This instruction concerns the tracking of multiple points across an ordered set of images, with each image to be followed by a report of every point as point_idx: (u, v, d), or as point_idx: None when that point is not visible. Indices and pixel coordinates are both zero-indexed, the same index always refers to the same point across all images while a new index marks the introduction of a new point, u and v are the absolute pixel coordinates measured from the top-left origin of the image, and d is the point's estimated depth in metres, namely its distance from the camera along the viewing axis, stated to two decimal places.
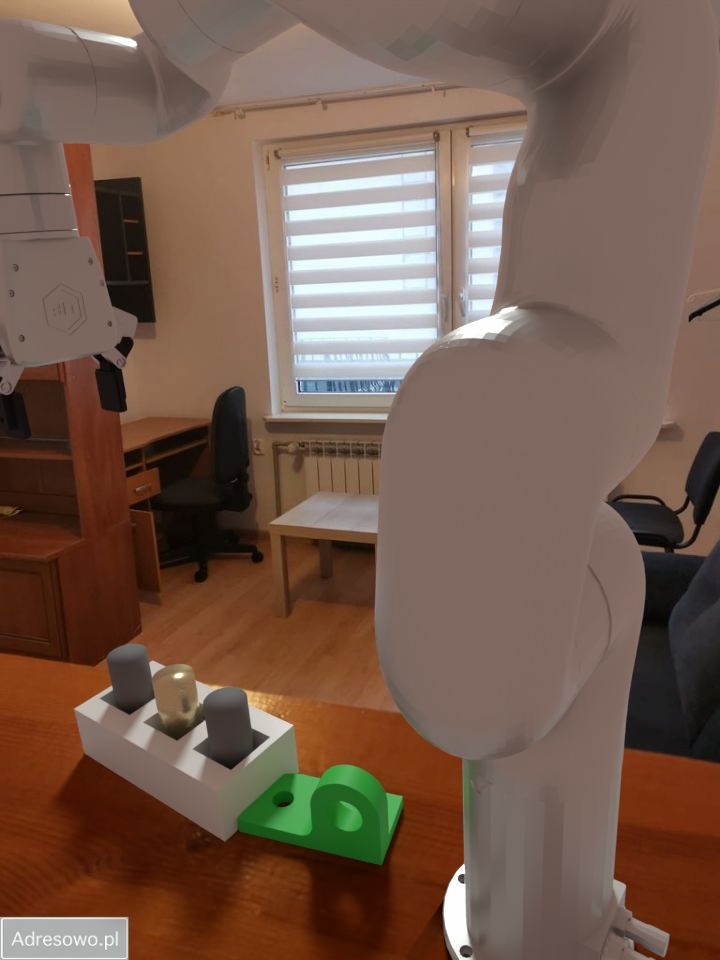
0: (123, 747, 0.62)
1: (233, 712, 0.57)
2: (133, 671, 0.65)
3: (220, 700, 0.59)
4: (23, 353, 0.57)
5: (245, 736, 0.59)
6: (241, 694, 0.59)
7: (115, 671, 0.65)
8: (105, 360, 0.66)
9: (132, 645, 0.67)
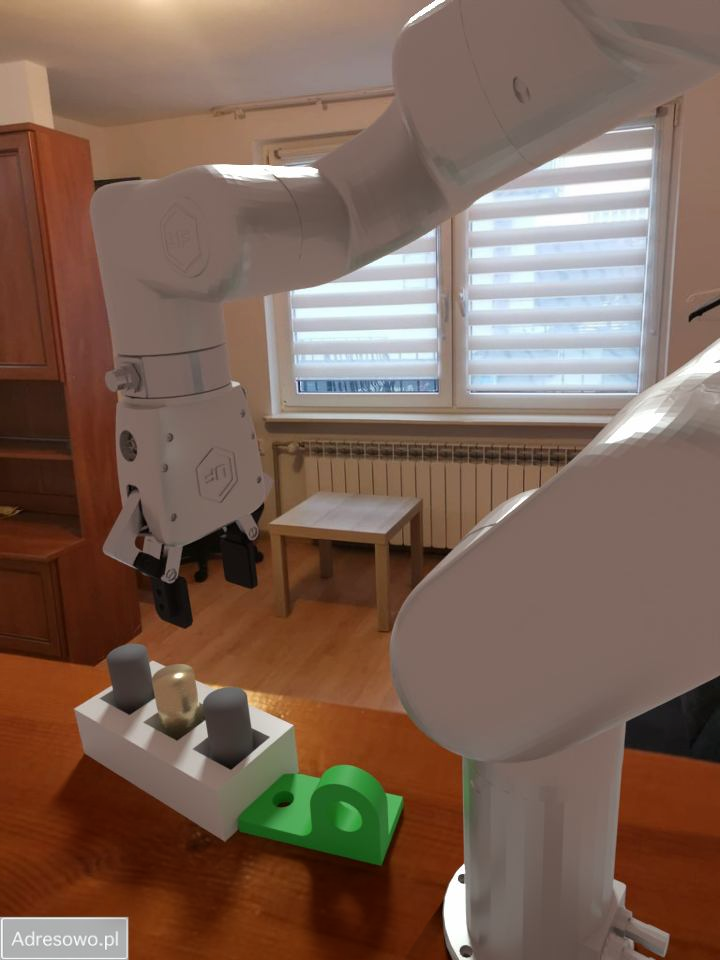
0: (123, 747, 0.62)
1: (233, 712, 0.57)
2: (133, 671, 0.65)
3: (220, 700, 0.59)
4: (174, 534, 0.48)
5: (245, 736, 0.59)
6: (241, 694, 0.59)
7: (115, 671, 0.65)
8: (234, 527, 0.57)
9: (132, 645, 0.67)
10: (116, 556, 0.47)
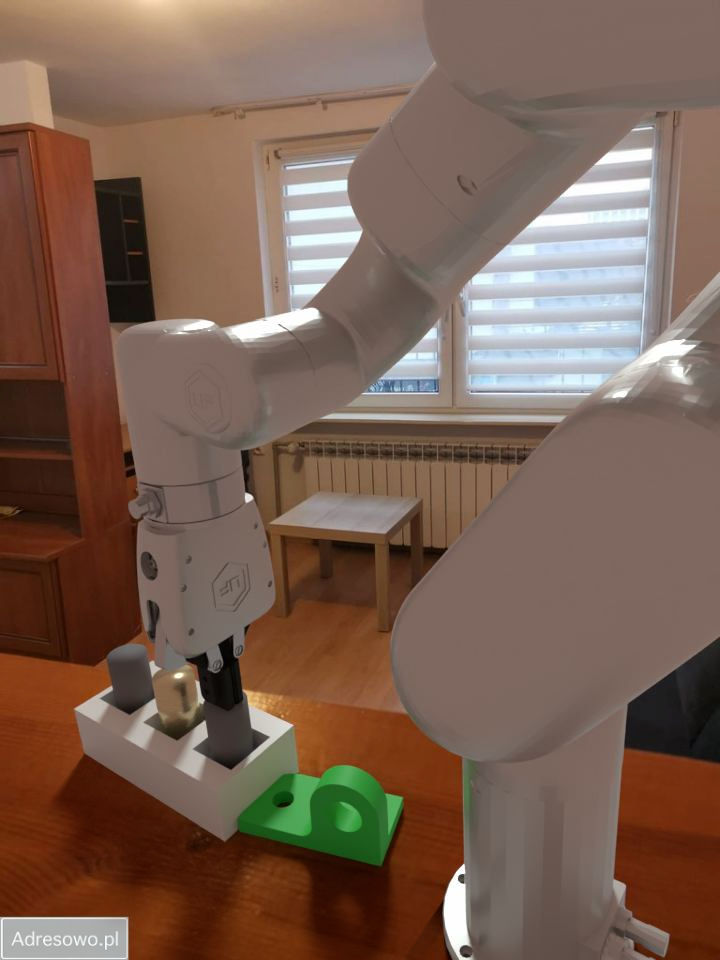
0: (123, 747, 0.62)
1: (233, 713, 0.57)
2: (133, 671, 0.65)
3: None
4: (192, 647, 0.51)
5: (246, 737, 0.59)
6: None
7: (115, 671, 0.65)
8: None
9: (132, 645, 0.67)
10: (169, 670, 0.53)
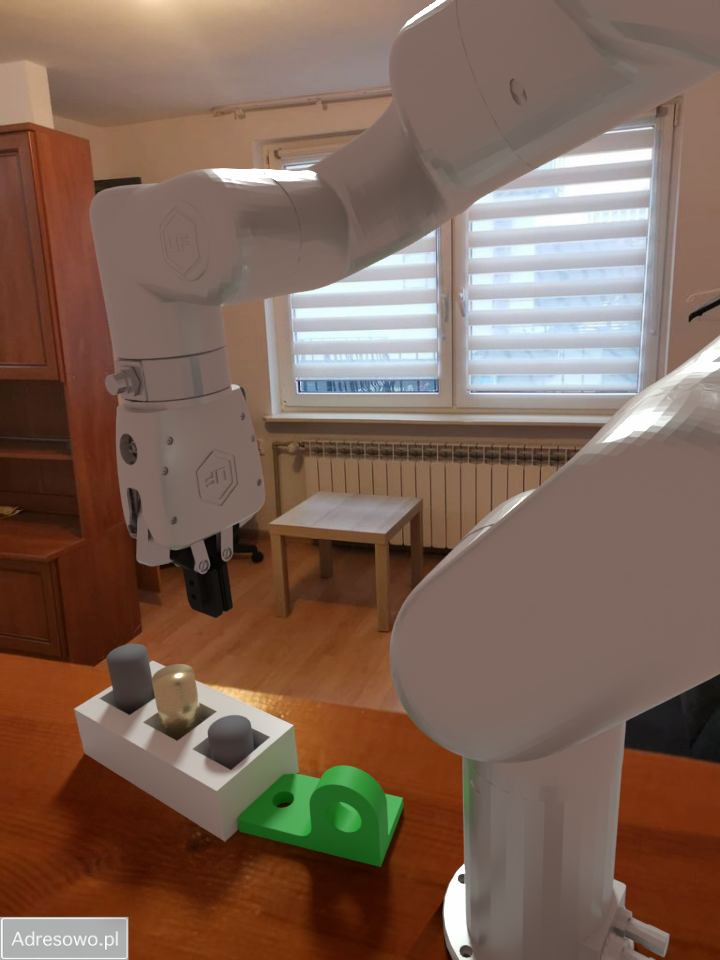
0: (123, 747, 0.62)
1: (237, 741, 0.58)
2: (133, 671, 0.65)
3: (225, 729, 0.60)
4: (175, 537, 0.48)
5: None
6: (245, 722, 0.60)
7: (115, 671, 0.65)
8: (210, 543, 0.55)
9: (132, 645, 0.67)
10: (152, 565, 0.50)
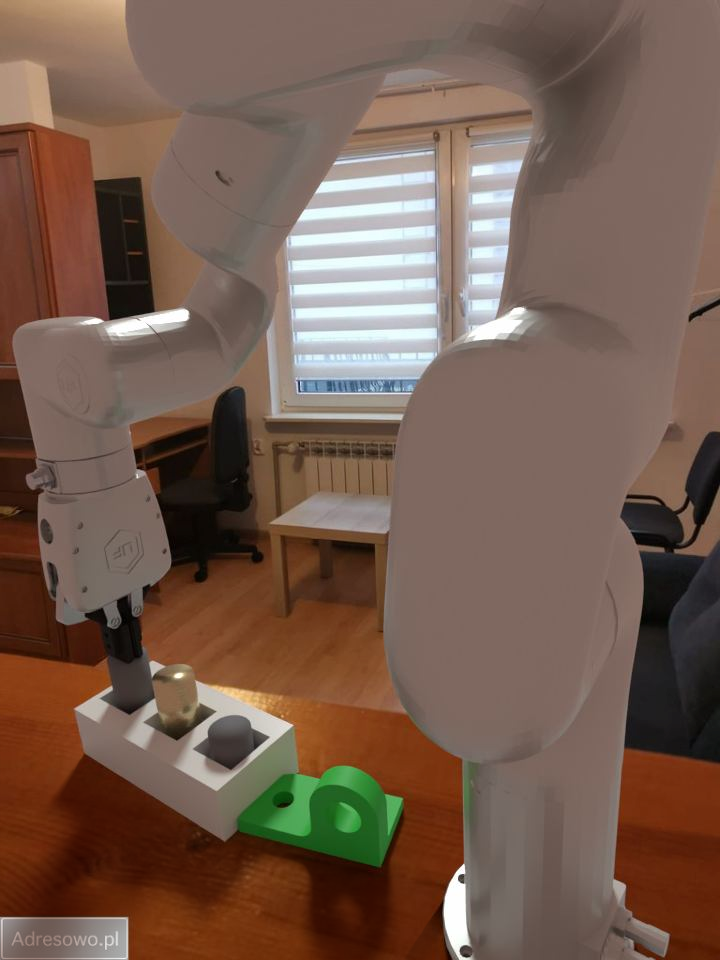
0: (123, 747, 0.62)
1: (237, 741, 0.58)
2: (133, 673, 0.65)
3: (225, 729, 0.60)
4: (85, 602, 0.59)
5: None
6: (245, 722, 0.60)
7: (115, 672, 0.65)
8: (123, 601, 0.65)
9: None
10: (68, 624, 0.60)
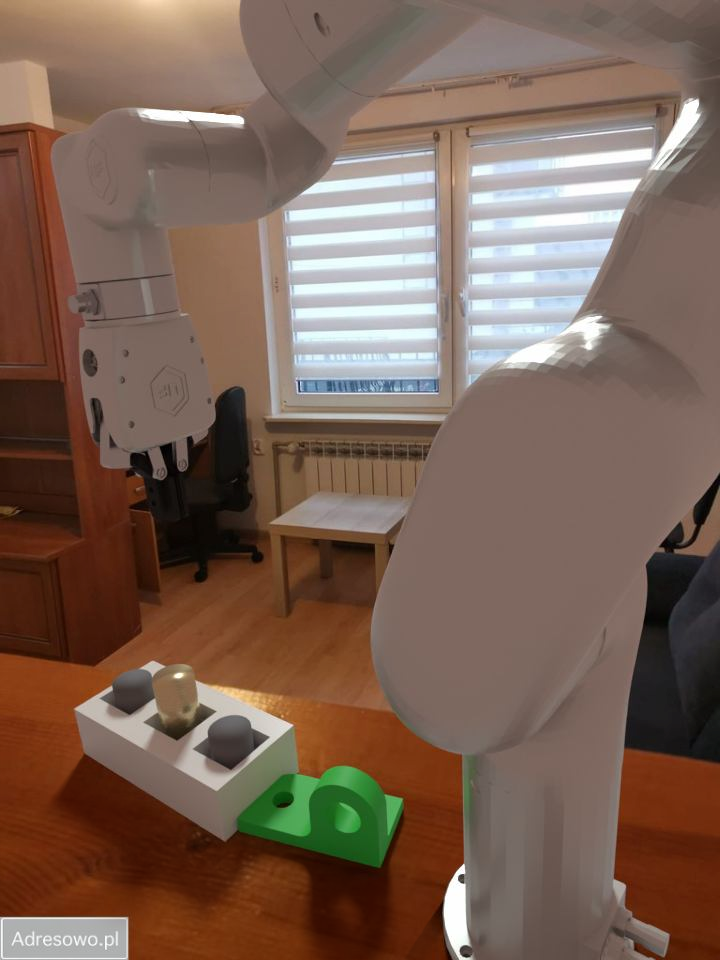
0: (123, 747, 0.62)
1: (237, 741, 0.58)
2: (138, 697, 0.66)
3: (225, 729, 0.60)
4: (133, 439, 0.55)
5: None
6: (245, 722, 0.60)
7: (121, 697, 0.66)
8: (167, 457, 0.62)
9: (137, 671, 0.68)
10: (114, 467, 0.57)
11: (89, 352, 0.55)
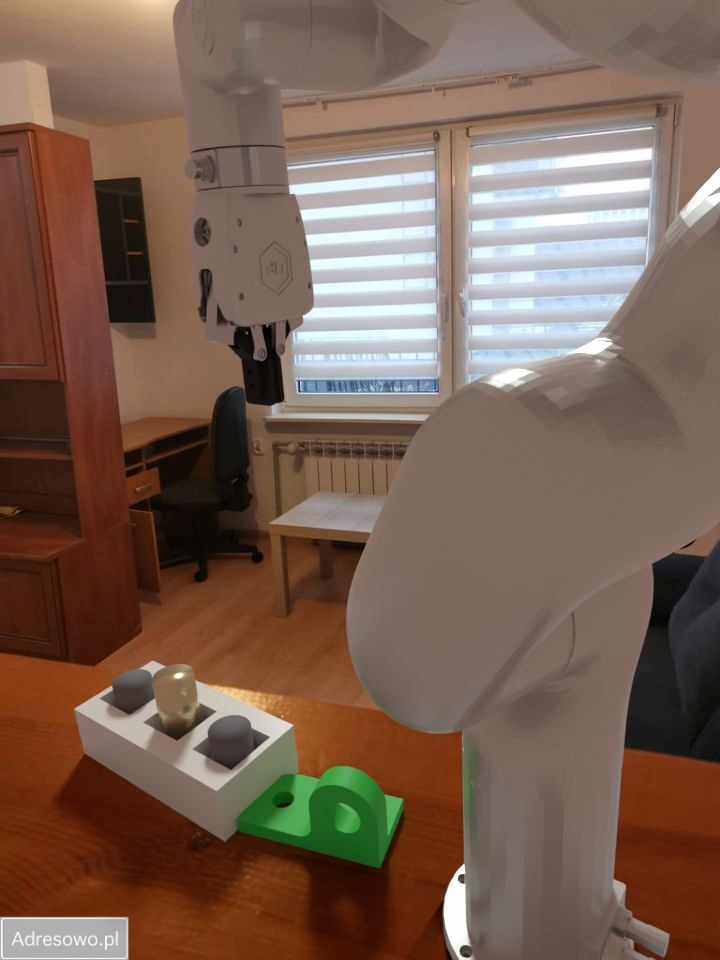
0: (123, 747, 0.62)
1: (237, 741, 0.58)
2: (138, 697, 0.66)
3: (225, 729, 0.60)
4: (241, 312, 0.55)
5: None
6: (245, 722, 0.60)
7: (121, 697, 0.66)
8: (265, 341, 0.62)
9: (137, 671, 0.68)
10: (219, 342, 0.57)
11: (200, 223, 0.55)
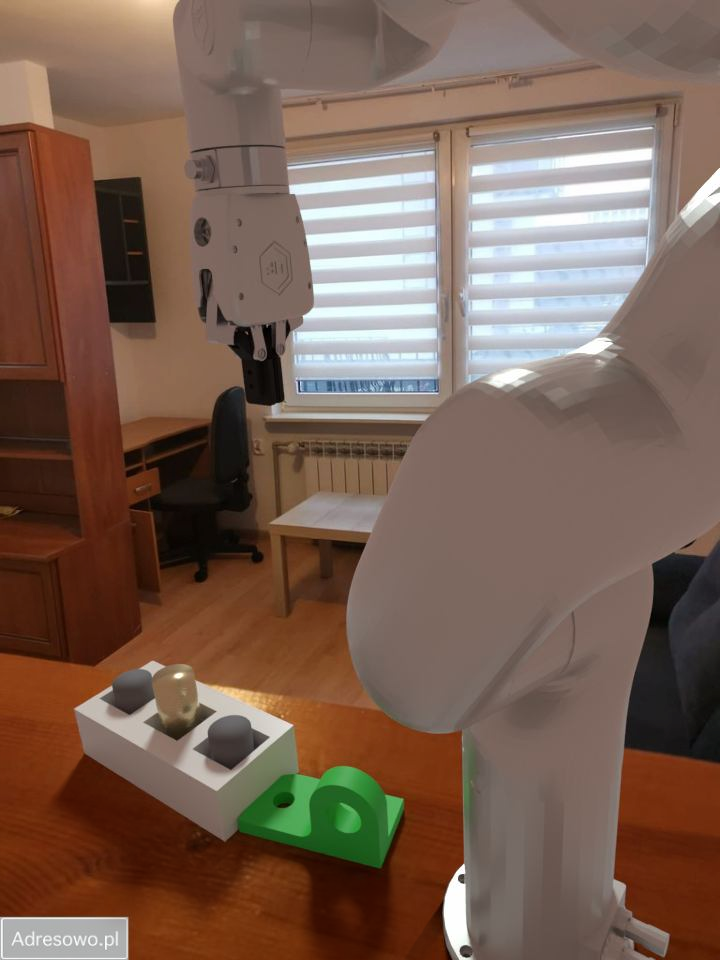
0: (123, 747, 0.62)
1: (237, 741, 0.58)
2: (138, 697, 0.66)
3: (225, 729, 0.60)
4: (241, 312, 0.55)
5: None
6: (245, 722, 0.60)
7: (121, 697, 0.66)
8: (265, 341, 0.62)
9: (137, 671, 0.68)
10: (219, 342, 0.57)
11: (200, 223, 0.55)
